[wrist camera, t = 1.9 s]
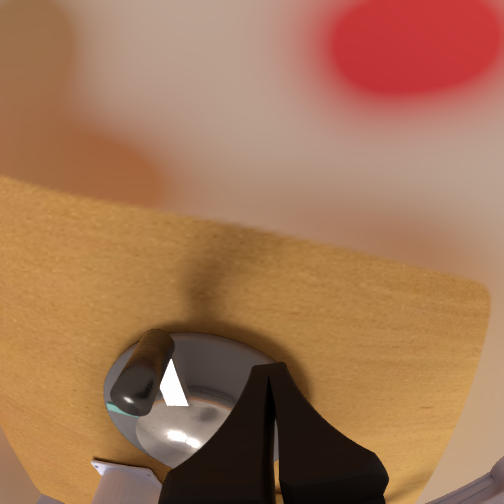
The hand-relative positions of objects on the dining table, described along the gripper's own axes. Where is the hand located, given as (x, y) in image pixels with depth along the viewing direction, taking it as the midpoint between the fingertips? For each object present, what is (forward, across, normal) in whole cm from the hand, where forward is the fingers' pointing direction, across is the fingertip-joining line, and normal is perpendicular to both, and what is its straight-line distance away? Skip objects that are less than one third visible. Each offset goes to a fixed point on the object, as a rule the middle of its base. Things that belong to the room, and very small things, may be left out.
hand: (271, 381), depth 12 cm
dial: (+6, +6, +6) cm, 10 cm away
